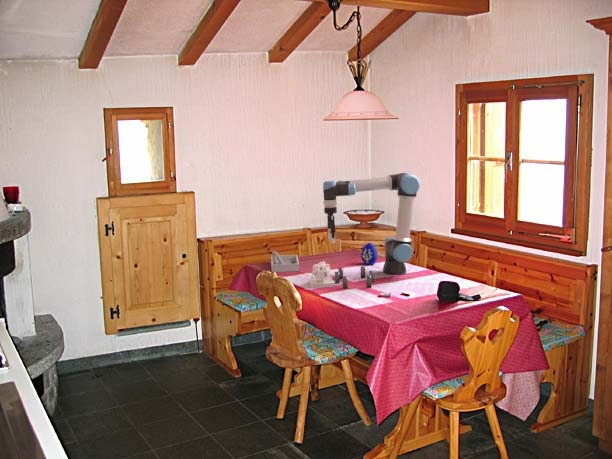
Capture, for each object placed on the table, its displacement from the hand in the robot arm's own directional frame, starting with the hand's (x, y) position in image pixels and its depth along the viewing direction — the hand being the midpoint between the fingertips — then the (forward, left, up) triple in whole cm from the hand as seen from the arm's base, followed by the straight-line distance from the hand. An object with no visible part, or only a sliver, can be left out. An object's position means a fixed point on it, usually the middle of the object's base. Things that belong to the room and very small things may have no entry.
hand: (332, 241), depth 423 cm
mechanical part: (+8, +8, -23) cm, 25 cm away
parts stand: (+8, +8, -25) cm, 27 cm away
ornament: (-30, -45, -25) cm, 60 cm away
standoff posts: (-13, +6, -25) cm, 29 cm away
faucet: (+32, -45, -26) cm, 61 cm away
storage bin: (+28, -46, -25) cm, 60 cm away
